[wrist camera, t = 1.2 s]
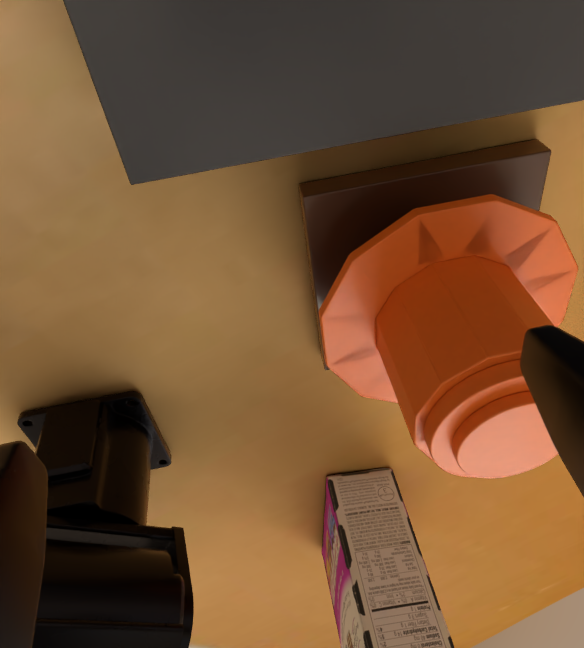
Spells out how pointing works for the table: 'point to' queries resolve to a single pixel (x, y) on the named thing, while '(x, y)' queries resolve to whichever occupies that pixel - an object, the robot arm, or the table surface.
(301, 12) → the tv stand
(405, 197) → the hat stand
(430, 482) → the table surface
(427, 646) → the candy bar box
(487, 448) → the hat
